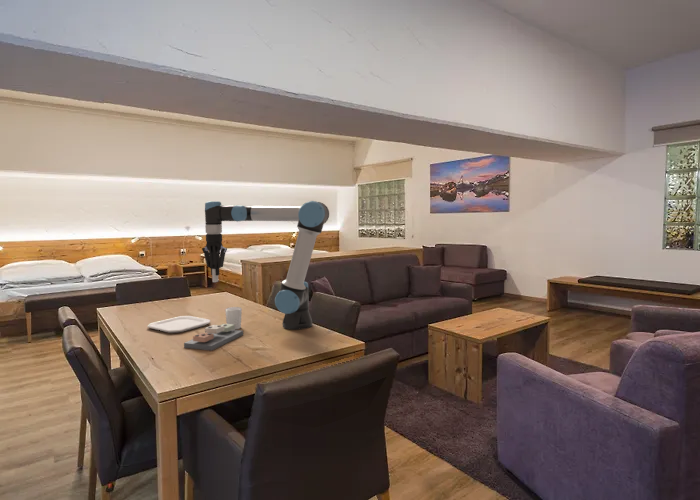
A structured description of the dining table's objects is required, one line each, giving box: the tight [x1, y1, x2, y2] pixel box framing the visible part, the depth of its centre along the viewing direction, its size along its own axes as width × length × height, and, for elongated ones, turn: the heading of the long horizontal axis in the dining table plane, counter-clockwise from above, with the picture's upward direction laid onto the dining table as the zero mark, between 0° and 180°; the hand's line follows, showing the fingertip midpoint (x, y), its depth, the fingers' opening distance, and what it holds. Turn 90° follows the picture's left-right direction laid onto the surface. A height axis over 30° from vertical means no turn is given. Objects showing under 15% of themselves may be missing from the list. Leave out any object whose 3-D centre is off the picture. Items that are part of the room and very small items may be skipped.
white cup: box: [224, 306, 243, 330], centre depth 208 cm, size 8×8×10 cm
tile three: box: [192, 332, 214, 342], centre depth 179 cm, size 6×6×2 cm
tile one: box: [220, 323, 235, 332], centre depth 194 cm, size 6×6×2 cm
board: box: [183, 329, 244, 351], centre depth 187 cm, size 14×24×2 cm, turn 162°
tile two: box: [204, 324, 224, 334], centre depth 186 cm, size 6×6×2 cm
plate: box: [147, 315, 211, 334], centre depth 212 cm, size 25×25×2 cm
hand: (215, 281), depth 201 cm, fingers closed
